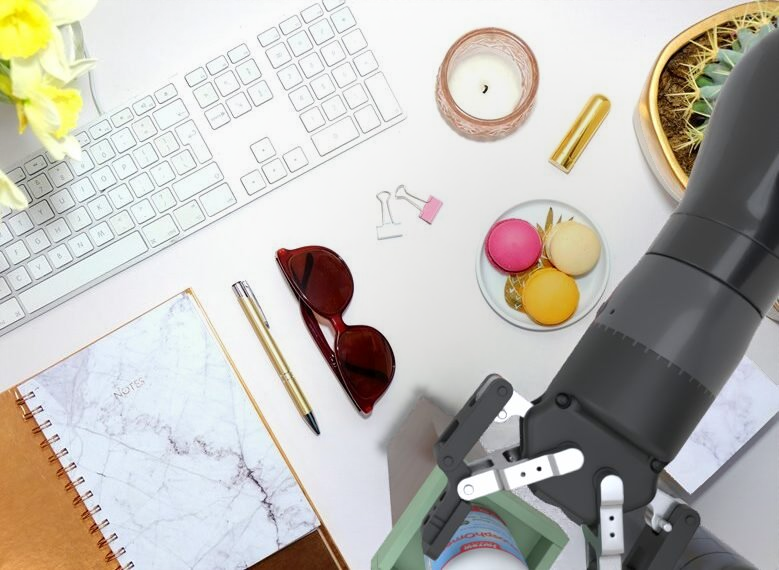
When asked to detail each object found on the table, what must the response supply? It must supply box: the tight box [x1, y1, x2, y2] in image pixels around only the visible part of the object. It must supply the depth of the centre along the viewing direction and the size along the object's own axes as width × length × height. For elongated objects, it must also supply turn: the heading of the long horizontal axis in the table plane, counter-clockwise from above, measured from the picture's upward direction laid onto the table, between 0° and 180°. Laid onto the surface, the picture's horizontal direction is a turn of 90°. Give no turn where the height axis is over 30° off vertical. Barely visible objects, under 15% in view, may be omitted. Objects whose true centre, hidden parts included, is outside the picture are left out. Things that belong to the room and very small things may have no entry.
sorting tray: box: [370, 459, 571, 570], centre depth 43 cm, size 9×9×3 cm
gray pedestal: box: [386, 396, 513, 530], centre depth 58 cm, size 7×7×28 cm
